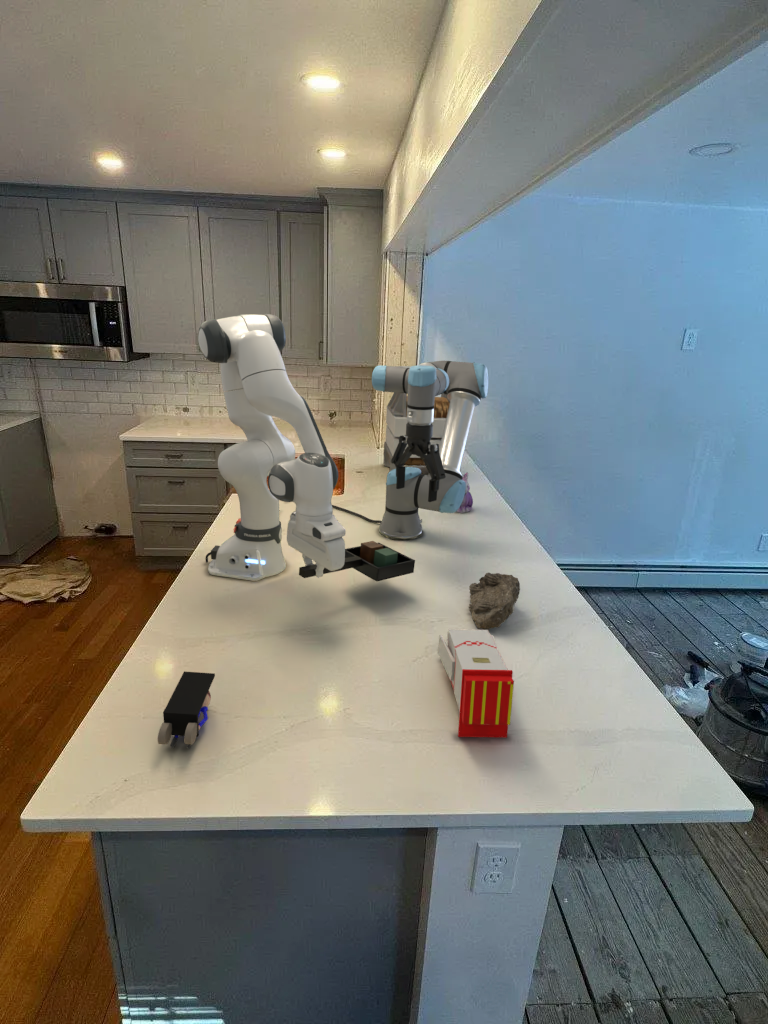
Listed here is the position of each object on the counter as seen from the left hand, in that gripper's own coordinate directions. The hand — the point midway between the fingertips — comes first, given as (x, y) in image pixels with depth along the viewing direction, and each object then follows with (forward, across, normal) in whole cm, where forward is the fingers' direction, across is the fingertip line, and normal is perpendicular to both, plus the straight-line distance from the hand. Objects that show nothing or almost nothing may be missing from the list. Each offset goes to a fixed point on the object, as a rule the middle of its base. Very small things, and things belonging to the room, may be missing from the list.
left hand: (314, 573), depth 141 cm
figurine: (+12, -34, +94) cm, 101 cm away
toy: (+12, +45, +9) cm, 47 cm away
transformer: (+12, -82, +117) cm, 143 cm away
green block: (+3, +3, +21) cm, 21 cm away
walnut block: (+3, -3, +21) cm, 21 cm away
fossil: (+12, +26, +39) cm, 48 cm away
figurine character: (+12, +20, -41) cm, 47 cm away
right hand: (-12, -7, +40) cm, 42 cm away
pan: (+3, 0, +12) cm, 12 cm away
